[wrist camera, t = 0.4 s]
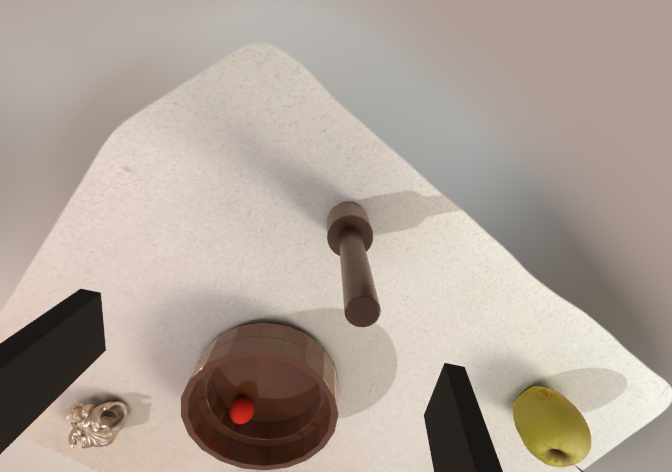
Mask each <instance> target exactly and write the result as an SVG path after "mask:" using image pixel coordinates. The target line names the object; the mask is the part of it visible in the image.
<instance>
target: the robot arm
mask: <svg viewBox="0 0 672 472" xmlns="http://www.w3.org/2000/svg"><path fill="white" fill-rule="evenodd" d="M105 351H106V347H105V336H104V324H103V313H102V302H101V293H99V292H94V291H90V290H85V289H80V290H78V291H77V292H75V293H74V294H72V295H71V296H69V297H68V298H66V299H65V300H63V301H62V302H60V303H59V304H58V305H56V306H55V307H53V308H52V309H50V310H49V311H47V312H46V313H44V314H43V315H41V316H40V317H38V318H37V319H36V320H34V321H33V322H31V323H30V324H28V325H27V326H25V327H24V328H22V329H21V330H19V331H18V332H16V333H15V334H14V335H12V336H11V337H9V338H8V339H6V340H5V341H3V342H2V343H0V454H1V453H2V452H3V451H4V450H5V449H6V448H7V447H8V446H9V445H10V444H11V443H12V442H13V441H14V440H15V439H16V438H17V437H18V436H19V435H20V434H21V433H22V432H23V431H24V430H25V429H26V428H27V427H28V426H29V425H30V424H31V423H32V422H33V421H34V420H36V419H37V418H38V417H39V416H40V415H41V414H42V413H43V412H44V411H45V410H46V409H47V408H48V407H49V406H50V405H51V404H52V403H53V402H54V401H55V400H56V399H57V398H58V397H59V396H60V395H61V394H62V393H63V392H64V391H65V390H66V389H67V388H68V387H69V386H70V385H71V384H72V383H73V382H74V381H75V380H76V379H77V378H78V377H79V376H80V375H81V374H82V373H83V372H84V371H85V370H86V369H87V368H88V367H89V366H90V365H91V364H92V363H93V362H94V361H95V360H96V359H97V358H98V357H99V356H100V355H101V354H102V353H104V352H105ZM424 419H425V424H426V430H427V435H428V440H429V446H430V451H431V457H432V462H433V468H434V472H503V471H502V468H501V465H500V463H499V460H498V457H497V454H496V452H495V449H494V446H493V443H492V441H491V438H490V435H489V432H488V430H487V427H486V424H485V421H484V419H483V416H482V413H481V410H480V408H479V405H478V402H477V399H476V397H475V394H474V391H473V389H472V386H471V383H470V380H469V378H468V375H467V372H466V369H465V367H462V366H457V365H452V364H447V363H444V366H443V368H442V371H441V373H440V376H439V378H438V381H437V383H436V386H435V388H434V391H433V394H432V396H431V399H430V401H429V404H428V406H427V409H426V411H425V414H424Z"/></svg>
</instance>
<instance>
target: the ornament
mask: <svg viewBox="0 0 672 472" xmlns="http://www.w3.org/2000/svg"><path fill="white" fill-rule="evenodd" d="M105 411H112V412H114V413H115V414H116V417H117V418H115V417H108V416H103V415H101V414H102V413H103V412H105ZM127 414H128V409H127V406H126V405H125V404H124V403H122V402H107V403H105V404H102V405H99V406H97V407H96V408H95V405H93V404H87V405H85V404H74V405H73V406H72V407H71V408H70V410H69V411H68V413H67V421H69V426H70V427H72V428H73V427H74V428H73V429H72V430H71V432H70V434H69V445H70V447H71V448H74V447H75V446H76V445H77V442H76V441H77V440H78V441H80V442H82V443H83V442H84V444H83V445H82V448H89V447H92V446H95V447H102V446H107V445H109V444H111V443H112V442H113V441H114V440H115V438H116V437H117V435H118V433H119V431H120V428H121V425H122V424H123V423H124V421H125V419H126V417H127Z"/></svg>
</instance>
